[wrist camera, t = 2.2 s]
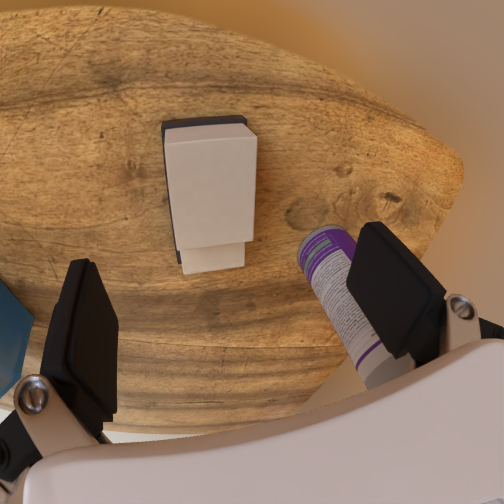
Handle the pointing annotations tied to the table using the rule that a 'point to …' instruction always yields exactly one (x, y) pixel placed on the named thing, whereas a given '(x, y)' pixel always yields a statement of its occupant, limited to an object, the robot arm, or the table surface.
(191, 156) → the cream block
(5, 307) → the perfume bottle
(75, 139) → the table surface
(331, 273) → the container
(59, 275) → the table surface
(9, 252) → the table surface
